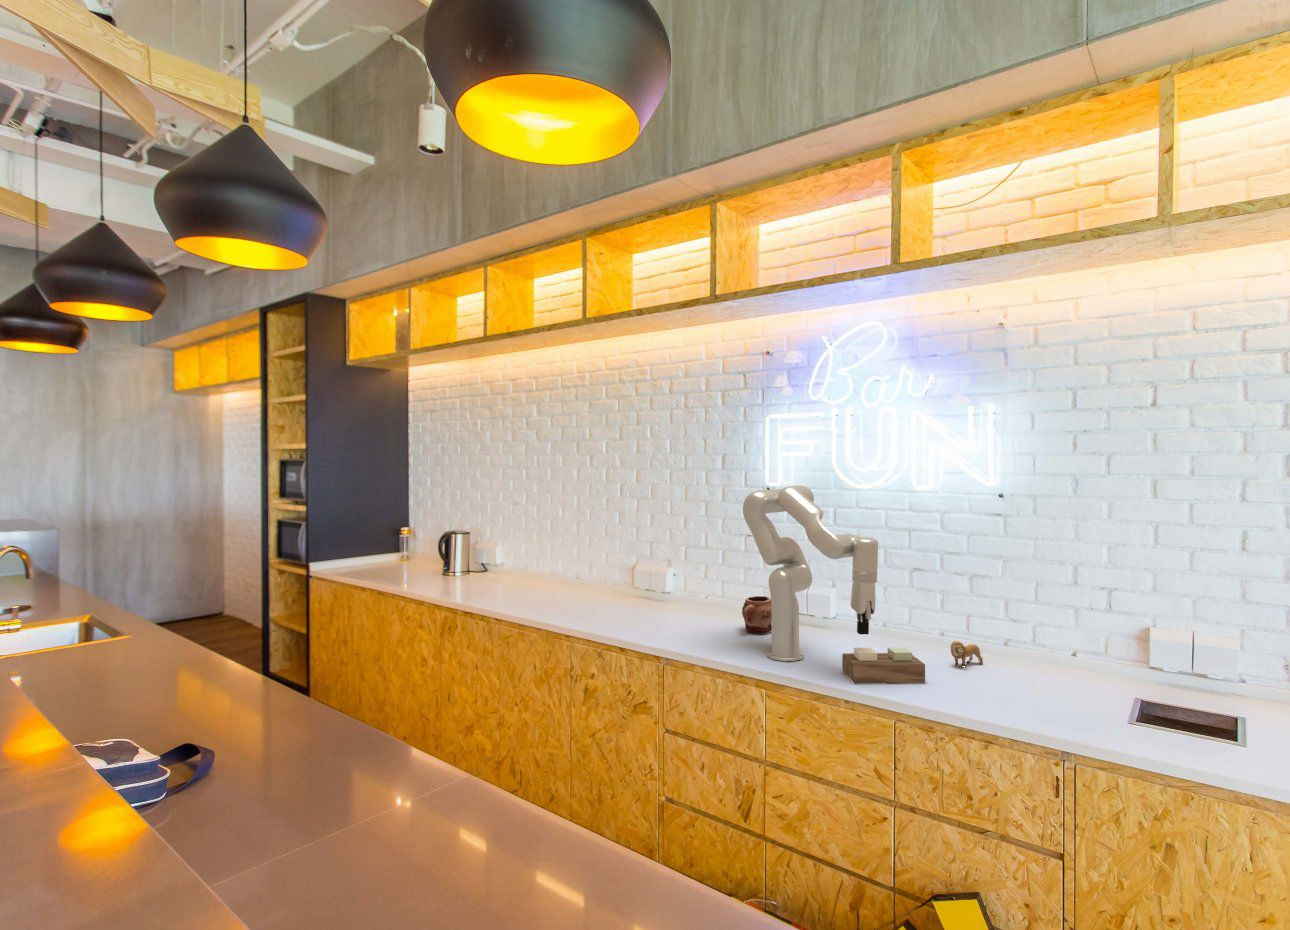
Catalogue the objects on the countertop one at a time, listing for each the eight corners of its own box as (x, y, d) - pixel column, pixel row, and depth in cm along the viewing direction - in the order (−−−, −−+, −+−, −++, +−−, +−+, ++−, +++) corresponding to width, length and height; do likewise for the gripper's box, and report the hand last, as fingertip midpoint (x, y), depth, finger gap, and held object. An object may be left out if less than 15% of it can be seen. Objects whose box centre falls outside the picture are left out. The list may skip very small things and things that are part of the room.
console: (842, 671, 217) (842, 653, 217) (909, 671, 217) (909, 653, 217) (854, 684, 205) (854, 664, 205) (925, 683, 205) (925, 664, 205)
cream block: (853, 669, 214) (853, 647, 214) (871, 669, 214) (871, 647, 214) (859, 675, 208) (859, 652, 208) (877, 674, 208) (877, 652, 208)
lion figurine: (960, 671, 217) (960, 643, 217) (946, 666, 222) (946, 640, 222) (987, 663, 225) (987, 637, 225) (972, 659, 230) (972, 633, 230)
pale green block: (887, 669, 214) (887, 647, 214) (905, 669, 214) (905, 647, 214) (894, 674, 208) (894, 652, 208) (912, 674, 209) (912, 652, 208)
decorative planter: (760, 640, 255) (760, 604, 255) (732, 635, 262) (732, 600, 262) (781, 629, 272) (781, 595, 272) (754, 625, 279) (754, 592, 279)
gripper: (845, 571, 219) (843, 626, 219) (860, 581, 204) (858, 640, 204) (868, 572, 219) (866, 627, 219) (885, 581, 204) (883, 640, 204)
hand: (862, 633), depth 212 cm, fingers closed
